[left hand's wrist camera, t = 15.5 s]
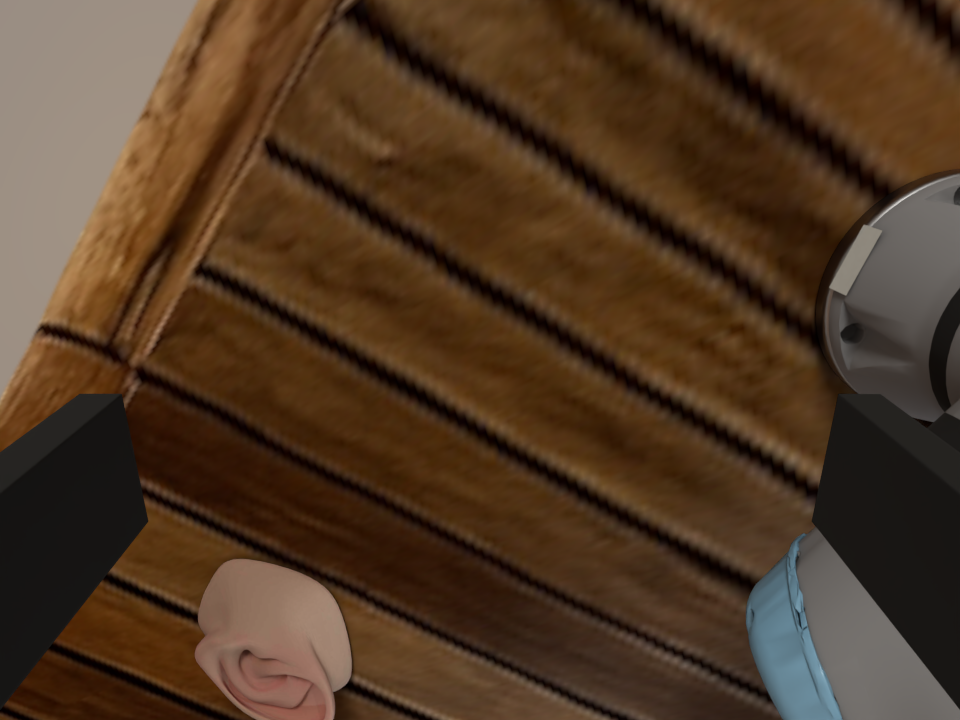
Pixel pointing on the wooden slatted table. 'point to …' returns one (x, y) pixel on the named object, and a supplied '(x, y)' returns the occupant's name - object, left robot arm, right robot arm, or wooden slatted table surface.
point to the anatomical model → (273, 641)
